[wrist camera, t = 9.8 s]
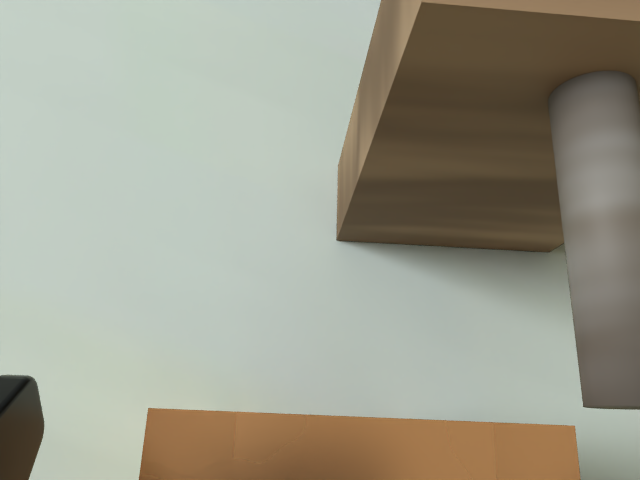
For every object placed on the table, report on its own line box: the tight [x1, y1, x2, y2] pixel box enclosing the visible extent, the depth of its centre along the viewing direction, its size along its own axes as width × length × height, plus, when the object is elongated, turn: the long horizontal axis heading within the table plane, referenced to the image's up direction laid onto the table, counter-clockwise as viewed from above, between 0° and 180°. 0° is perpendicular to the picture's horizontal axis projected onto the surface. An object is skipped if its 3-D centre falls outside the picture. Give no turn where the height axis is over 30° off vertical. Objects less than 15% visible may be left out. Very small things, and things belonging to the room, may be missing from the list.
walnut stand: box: [337, 0, 640, 410], centre depth 14 cm, size 9×8×12 cm
